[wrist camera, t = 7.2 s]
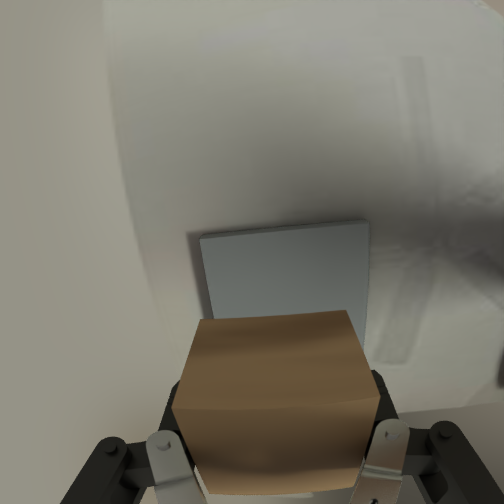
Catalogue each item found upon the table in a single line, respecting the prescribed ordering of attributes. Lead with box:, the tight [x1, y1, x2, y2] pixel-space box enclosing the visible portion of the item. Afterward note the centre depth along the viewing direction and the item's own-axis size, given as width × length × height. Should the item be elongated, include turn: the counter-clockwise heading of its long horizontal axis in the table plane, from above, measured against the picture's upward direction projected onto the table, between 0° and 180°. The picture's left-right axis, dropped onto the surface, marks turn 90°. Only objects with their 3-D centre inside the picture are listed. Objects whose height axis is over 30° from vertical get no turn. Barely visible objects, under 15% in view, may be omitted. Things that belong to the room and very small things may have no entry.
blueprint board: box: [199, 219, 370, 350], centre depth 29 cm, size 20×14×1 cm
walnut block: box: [171, 310, 380, 495], centre depth 11 cm, size 6×6×5 cm
